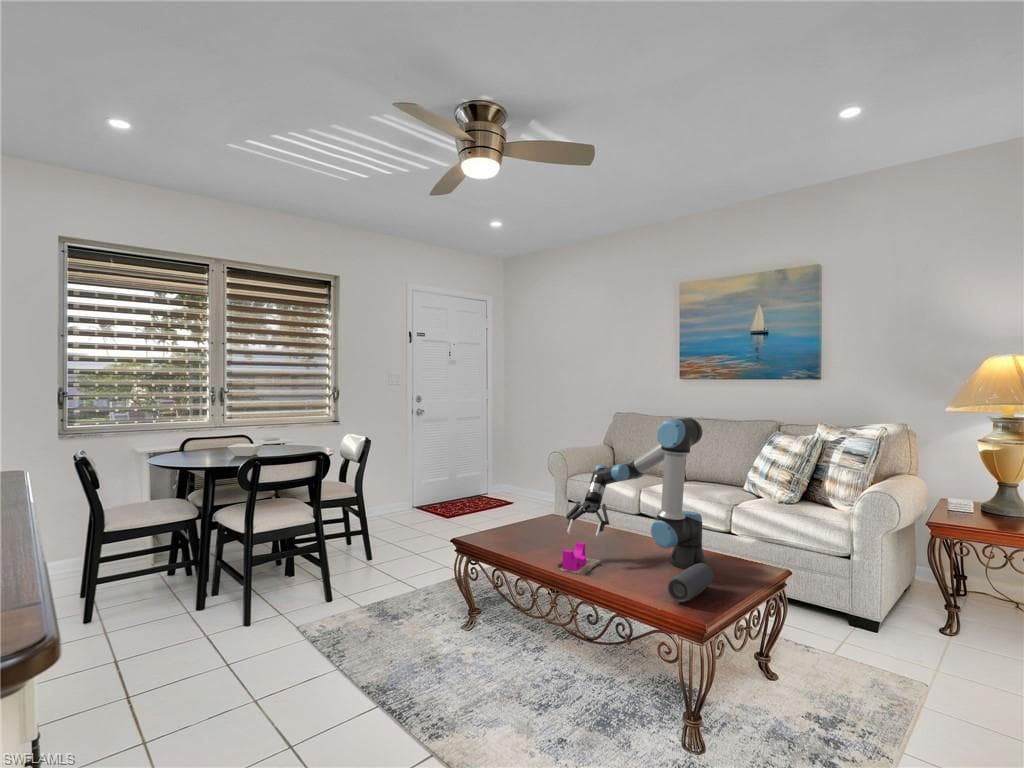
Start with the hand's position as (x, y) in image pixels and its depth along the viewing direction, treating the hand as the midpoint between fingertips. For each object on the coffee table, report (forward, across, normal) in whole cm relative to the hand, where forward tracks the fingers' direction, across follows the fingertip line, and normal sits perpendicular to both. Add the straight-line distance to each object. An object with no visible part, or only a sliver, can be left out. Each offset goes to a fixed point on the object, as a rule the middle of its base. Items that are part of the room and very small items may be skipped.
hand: (582, 535), depth 240 cm
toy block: (+13, 0, -3) cm, 13 cm away
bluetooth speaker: (+20, -50, +1) cm, 53 cm away
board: (+12, 0, -4) cm, 13 cm away
